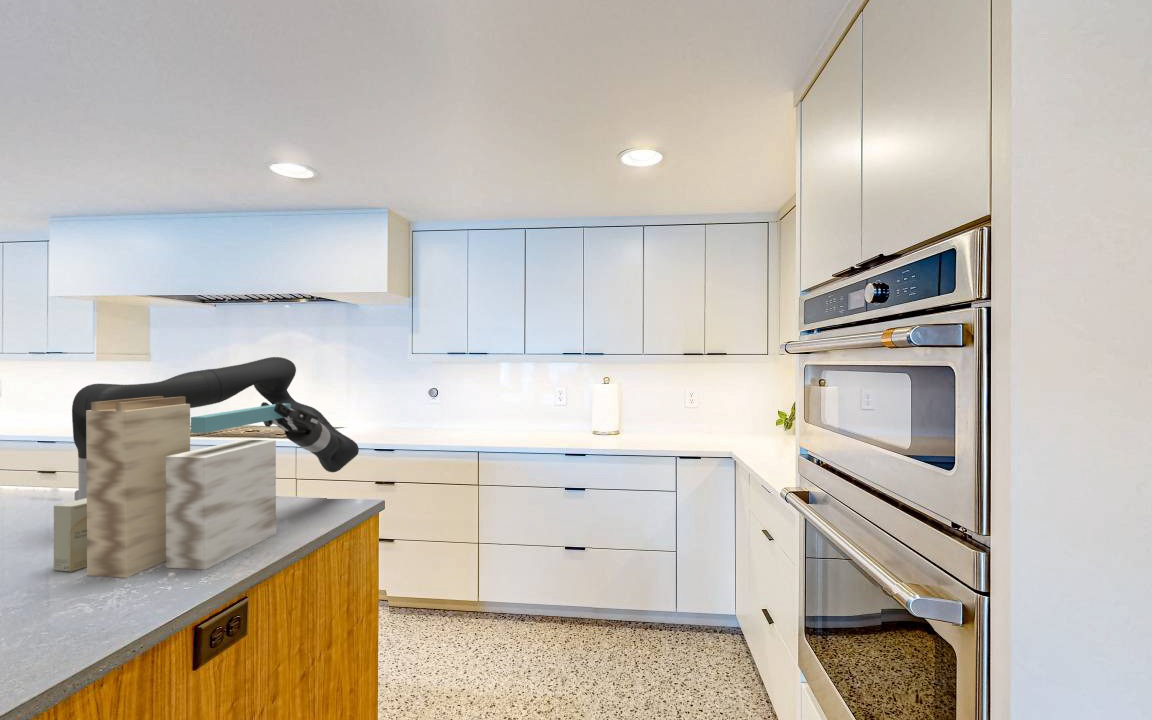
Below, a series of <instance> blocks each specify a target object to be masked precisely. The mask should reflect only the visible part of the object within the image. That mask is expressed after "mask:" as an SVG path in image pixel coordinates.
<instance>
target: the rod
mask: <svg viewBox="0 0 1152 720" xmlns="http://www.w3.org/2000/svg"><path fill="white" fill-rule="evenodd" d="M275 405H276V404H269V405H267V406H261V405H260V406H256V407H255V406H254V407H248V408H247V407H246V408H241V409H236V410H235V409H234V410H230V411H223V412H217V413H210V414H203V415H197V416H190V434H192V433H193V434H207V433H213V432H218V431H222V430H228V429H233V428H239V427H243V426H248V425H252V424H259V423H264V421H269V420H274V419H279V418H284V417H282V416H281V415H279V414H278V413H277V412H275V411H274V409H275ZM283 405H284V406H286V407H287V408H291V404H283Z"/></svg>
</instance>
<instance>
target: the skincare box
mask: <svg viewBox="0 0 1152 720" xmlns="http://www.w3.org/2000/svg"><path fill="white" fill-rule="evenodd" d="M86 567H87V498H84V499H80V500H76V501H75V500H71V501H68V502H64V503H59V504H55V505H53V571H61V572H75V571H78V570H81V569H83V568H86Z"/></svg>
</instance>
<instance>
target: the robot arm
mask: <svg viewBox="0 0 1152 720" xmlns="http://www.w3.org/2000/svg"><path fill="white" fill-rule="evenodd" d="M296 373H297V367H296V364H295V363H294V362H293V361H291V360H290V359H288V358H285V357H278V356H272V357H271V356H270V357H265V358H261V359H258V360H257V359H256V360H254V361H249V362H244V363H241V364H236V365H229V366H223V367H218V368H209V369H202V370H201V369H200V370H195V371H188V372H184V373H181V374H178V375H175V376H172V377H170V378H167V379H164V380H162V381H157V382H146V383H135V384H133V383H132V384H118V383H116V384H115V383H93V384H89V385H86V386H84V387H82V388H81V389H79V390H78V392H77V393H76V394H75V396H74V398H73V401H72V406H71V419H72V420H71V421H72V436H73V442H74V444H75V447H76V450H77V458H78V461H77V462H78V463H77V465H78V467H77V469H78V471H77V472H78V474H77V475H78V490H75V491H74V501H76V500H80V499H84V498H87V454H86V410H91V402H100V401H111V400H122V399H133V398H144V397H155V396H163V398H171V397H181V396H182V397H186V404H190V409H193V408H200V407H205V406H206V407H207V406H209V405H210V406H211V405H215V404H218V403H222V402H224V401H226V400H228V399H230V398H233V397H234V396H236V395H238V394H240V393H241V392H242V391H244V390H246V389H249V388H250V387H252V386H254V389H255V390H256V391H257V393H259V394H260V395H261V396H262V397H263V398H264V399H265V400H266V401H268V402H269V403H268V402H266V401H265V402H262V403H261V404H260V406H267V405H273V404H276V405H275V409H274V411H275V412H277V413H278V414H279V415H281V416H282V417H284V418H279V419H274V420H269V421H264V422H263V424H264V427H267V428H269V427H272V425H275V426H277V427H278V428H279V429H281V430H282V431H284V434H285V437H286V438H287V439H288V440H289V441H290V442H292V443H294V444H295V445H297V446H298V447H300V448H302V449H303V450H306V451H308V452H310V453H311V454H313V455H314V456H316V458H317V459H318V462H319V463H320V464H321V466H322V468H323V469H324V470H325V471H326V472H328V473H336V472H340V470H342V469H343V468H344V467H346V466H347V465H348V464H349V463H350V462H351V461H352V460H354V459H355V458H356V457H357V455H358V454H359V452H360V450H359V446H358V444H357V442H355V440H353V439H351V438H350V437H349V436H347V435H345V434H343V433H342V432H340V431H339V430H337V429H336V428H335V427H334V426H333V425H332V424H331V423H330V421H329V420H328V419H327V418H326V417H325V416H324V415H323V414H322V413H321V412H320V411H319V410H318V409H316V408H315V407H312V406H309V405H307V404H303V403H301V402H298V401H296V400H295V399H294V397H292V396H291V394H290V393H289V391H288V389H289V388H290V387H289V386H291V383H292V381H293V380H294V378H295V376H296ZM283 404H291V408H287V407H286V406H284V405H283Z"/></svg>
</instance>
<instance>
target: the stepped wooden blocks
mask: <svg viewBox="0 0 1152 720" xmlns="http://www.w3.org/2000/svg"><path fill="white" fill-rule="evenodd" d="M276 442H277V441H276V440H273V439H272V440H271V439H267V440H266V439H264V440H263V439H239V440H234V441H230V442H226V443H222V444H221V443H220V444H217V445H216V444H215V445H212V446H207V447H202V448H199V449H194V450H191V408H190V404H186V397H182V396H181V397H171V398H163V396H155V397H144V398H133V399H122V400H111V401H100V402H91V410H86V454H87V568H86V570H87V571H86V573H87V574H86V576H91V577H92V576H93V577H108V578H122V579H123V578H125V579H127V578H129V577H131V576H134V575H136V574H138V573H140V572H143V571H146V570H147V569H149V568H152V567H154V566H156V565H159V564H162V563H164V562H165V568H167V569H169V568H170V569H183V570H184V569H185V570H201V571H204V570H205V571H206V570H207V569H210V568H212V567H214V566H216V565H217V564H220V563H221V562H224V561H225V560H227V559H229V558H232V557H233V556H235V555H237V554H239V553H241V552H243V551H245V550H247V549H249V548H251V547H253V546H255V545H257V544H259V543H261V542H264V541H265V540H267V539H269V538H271V537H273V536H276V534H277V532H276V531H277V529H276V528H277V527H276V526H277V512H276V511H277V509H276V508H277V507H276V506H277V498H276V497H277V495H276V494H277V492H276V491H277V487H276V486H277V484H276V483H277V481H276V480H277V476H276V475H277V473H276V472H277V468H276V467H277V466H276V465H277V463H276V462H277V459H276V458H277V457H276V456H277V455H276V454H277V453H276V452H277V449H276V448H277V443H276Z"/></svg>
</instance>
